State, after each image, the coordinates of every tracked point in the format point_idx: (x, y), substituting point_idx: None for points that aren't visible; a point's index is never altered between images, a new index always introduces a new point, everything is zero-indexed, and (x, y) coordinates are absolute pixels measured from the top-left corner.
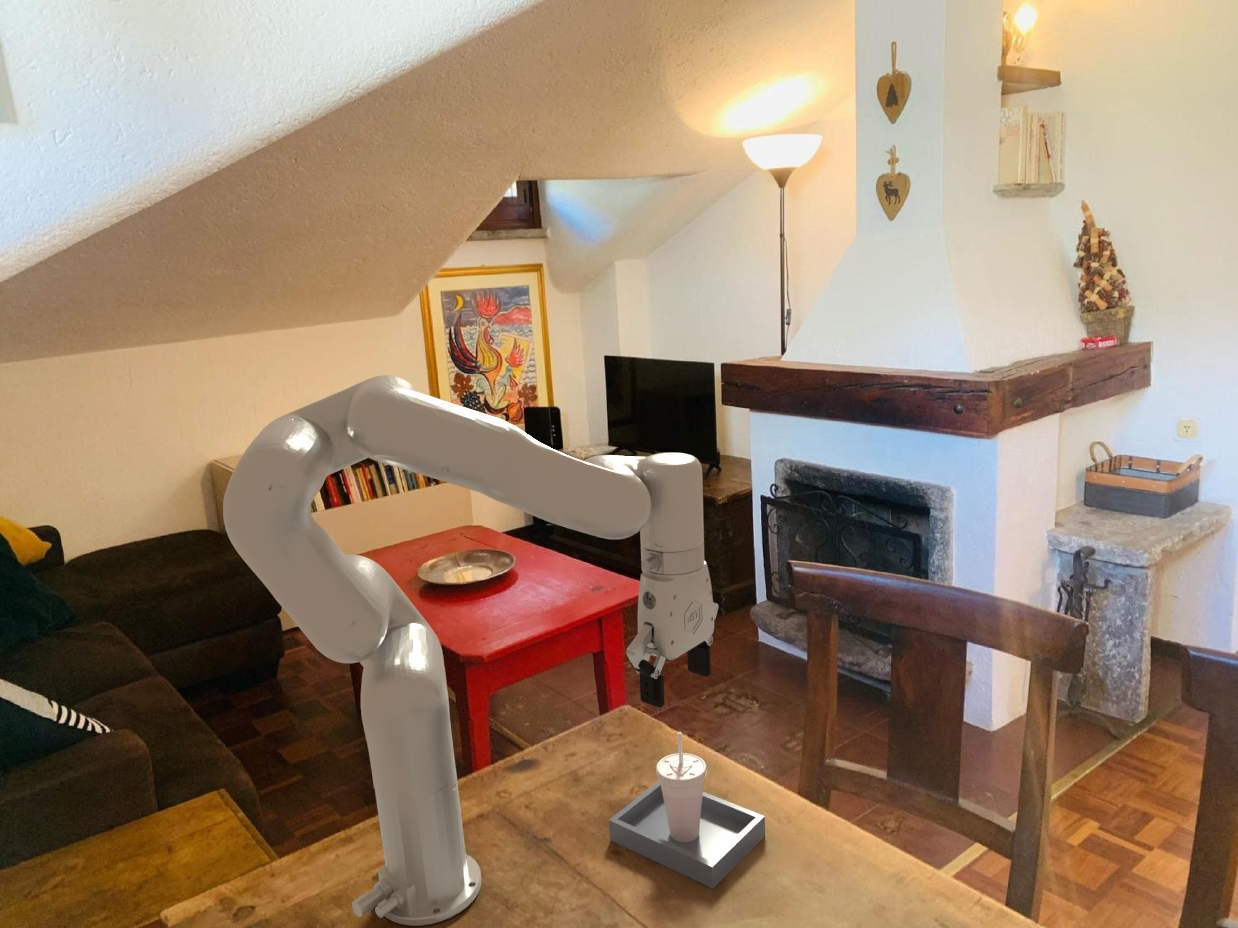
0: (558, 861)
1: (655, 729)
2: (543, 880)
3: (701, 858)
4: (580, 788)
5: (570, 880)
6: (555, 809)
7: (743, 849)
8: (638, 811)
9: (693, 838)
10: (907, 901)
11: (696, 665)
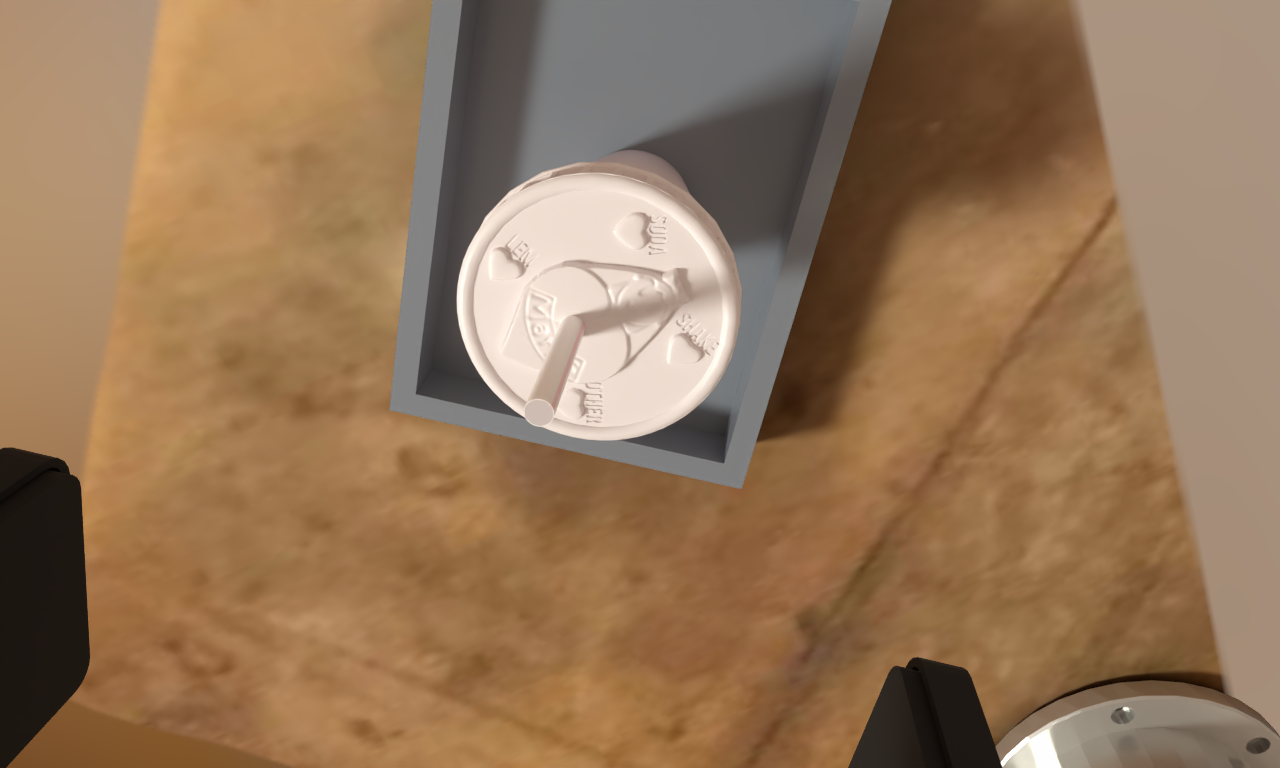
0: (899, 546)
1: None
2: (1002, 547)
3: (856, 47)
4: (518, 638)
5: (980, 475)
6: (654, 658)
7: None
8: None
9: (661, 158)
10: None
11: (14, 647)
